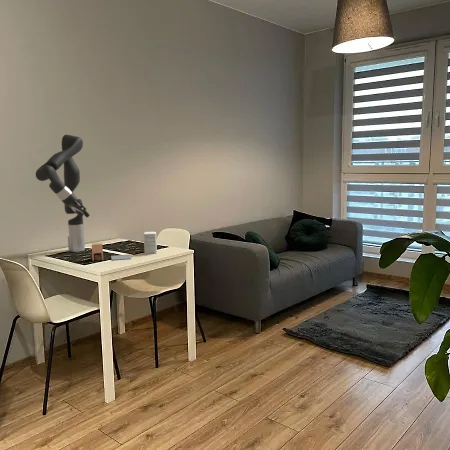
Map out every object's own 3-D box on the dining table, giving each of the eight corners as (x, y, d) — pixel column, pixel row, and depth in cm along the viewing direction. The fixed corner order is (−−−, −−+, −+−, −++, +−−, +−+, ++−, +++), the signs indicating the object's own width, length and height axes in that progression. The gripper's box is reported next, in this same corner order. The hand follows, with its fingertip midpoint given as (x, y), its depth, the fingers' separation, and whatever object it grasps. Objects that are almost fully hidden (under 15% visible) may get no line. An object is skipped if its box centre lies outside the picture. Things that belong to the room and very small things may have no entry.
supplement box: (145, 251, 287) (144, 231, 285) (157, 251, 288) (156, 231, 286) (144, 254, 280) (143, 233, 278) (156, 253, 280) (155, 233, 279)
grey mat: (111, 260, 263) (111, 259, 263) (111, 256, 273) (111, 255, 273) (131, 259, 266) (131, 258, 266) (129, 255, 276) (129, 254, 276)
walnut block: (95, 260, 264) (94, 255, 264) (95, 259, 267) (94, 254, 267) (100, 260, 265) (100, 255, 265) (100, 259, 268) (100, 254, 268)
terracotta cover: (92, 261, 263) (91, 244, 261) (92, 258, 268) (91, 243, 267) (103, 260, 264) (102, 244, 263) (103, 258, 270) (102, 242, 268)
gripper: (75, 190, 250) (95, 212, 258) (65, 191, 261) (84, 211, 269) (66, 200, 247) (86, 221, 255) (56, 200, 258) (75, 220, 266)
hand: (85, 216), depth 262 cm, fingers open, 8 cm apart
